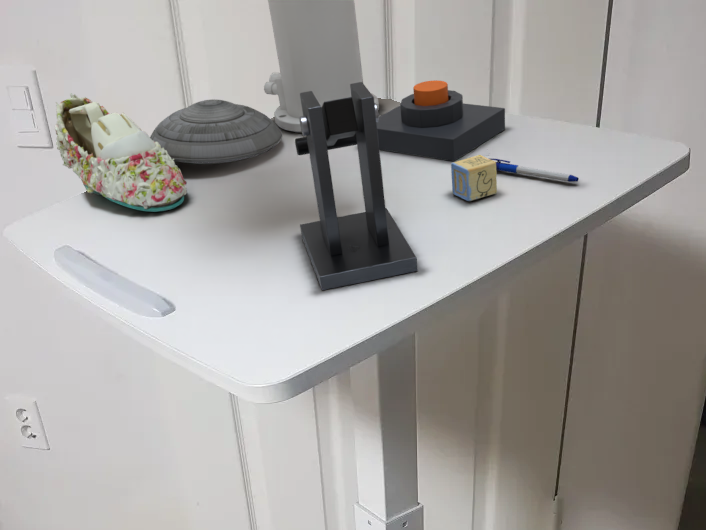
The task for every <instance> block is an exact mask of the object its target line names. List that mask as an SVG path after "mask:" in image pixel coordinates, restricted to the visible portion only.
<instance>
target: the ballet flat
mask: <svg viewBox="0 0 706 530" xmlns="http://www.w3.org/2000/svg"><path fill="white" fill-rule="evenodd" d="M69 96H70V97H69V98H67V99H64V100H62V101H61V102H60V103H58V102H57V101H55V104H56V120H57V121H56V123H55V125H54V131H55V135H56V141H55V145H56V149H57V150H58V151H59V153H60V157H61V160H62V161H63V163H62V166H64V167H66V168H67V169H72V172H73V173H74V174H76V176H77V177H78V179H80V181H81V183H82V185H83V186H84V188H85V190H86V193H88V194H93V195H94V194H95V195H101V196H102V197H104V198H105V199H106V200H109V201H110V202H113V203H115V204H117V205H120V206H123V207H125V208H129V209H133V210H137V211H141V212H152V213H153V212H154V213H156V212H165V211H168V210H173V209H175V208H178V207H179V206H180V205H182V204H183V203H184V201H185V196H186V195H187V194H188V192H187V186H186V185H187V181H186V180H185V179H184V176H183V174H182V171H181V168H179V167H178V165H176V161H173V160H174V159H171V157H170V156H169V155H168V153H167V150H164V148H161V145H160V144H159V143H158V142H157V141H156V142H154V141H153V140H152V139H151V138H150V135H149V134H148V132H146V131H144V130H143V129H141V127H140V126H139V125H137V123H135V121H133V120H132V119H131V118H130V117H129V116H128V115H127V114H125V113H124V112H121V113H118V112H112V113H110V112H108V110H107V109H106V107H105V106H103V105H100V103H99V102H98V101H93V100H92V99H90V98H88V97H86V96H84V97H79V96H78V95H76V94H75V93H71V92H70V93H69Z"/></svg>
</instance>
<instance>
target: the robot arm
mask: <svg viewBox="0 0 706 530" xmlns="http://www.w3.org/2000/svg"><path fill="white" fill-rule="evenodd" d="M267 3H268V9H269V13H270V14H269V15H270V20H271V21H270V22H271V26H272V32H273V38H274V44H275V51H276V54H277V63H278V66H279V72H276V71H274V72H272V73H271V74H270V75H269V79H268V81H266V82H265V83H264V85H263V91H264V93H265V94H266V95H272V96H277V97H278V102H279V106H278V107H276V109H275V110H274V114H273V117H274V121H275V124H276V125H277V126H278V128H280V129H282V130H285V131H289V132H295V133H302V131H301V127H300V120H299V117H300V116H303V111H302V105H301V99H300V93H303V92H308V91H312V92H313V94H314V95H315V97H316V99H317V100H318V102H319V104H320V106H321V108H322V105H323V103H324V102H326V101H331V100H336V99H342V98H347V97H351V89H350V84H353V83H358V82H362V83H363V84H364V76H363V68H362V57H361V49H360V41H359V30H358V23H357V14H356V3H355V0H267ZM370 93H371V94H372V95H373V97H374V103H376V105H377V108H378V111H379V109H380V103H379V98H378V97H377V96H376V95H375V94H374V93H372V92H370Z"/></svg>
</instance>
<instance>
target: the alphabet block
mask: <svg viewBox="0 0 706 530" xmlns="http://www.w3.org/2000/svg"><path fill="white" fill-rule="evenodd" d="M491 159H492V158H489V159H488V158H487V157H485V156H483V155H481V154H478V155H474V156H471V157H466V158H464V159H461V160H456V161H452V162H451V163H450V168H451V170H450V173H451V188H452V194H453V195H455V196H457V197H458V198H460V199H462V200H464V201H467V202H472V201H475V200H479V199H481V198H482V199H483V198H485V197H488V196H493V195H496V194H497V192H498V189H497V187H498V186H497V184H498V183H497V182H498V181H497V170H496V162H497V161H496V160H491Z"/></svg>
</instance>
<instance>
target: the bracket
mask: <svg viewBox="0 0 706 530" xmlns="http://www.w3.org/2000/svg"><path fill="white" fill-rule="evenodd" d="M350 89H351V97H352V99H353V105H354V110H355V116H356V121H357V127H358V131H357V132H356V139H357V145H356V147H357V154H358V161H359V163H358V164H359V170H360V171H359V172H360V179H361V187H362V195H363V196H362V197H363V204H364V205H363V206H364V211H361V212H357V213H353V214H347V215H346V214H345V215H342V216H338V213H337V205H336V199H335V191H334V186H333V179H332V170H331V165H330V158H329V150H327V143H326V136H325V129H324V122H323V115H322V108H321V106H320V104H319V102H318V100H317V99H316V97H315V95H314V94H313V92H312V91H308V92H303V93H300V99H301V105H302V111H303V116H300V117H299V120H300V127H301V131H302V132H301V134H302V137H306V136H307V143H308V149H309V154H308V155H309V160H310V166H311V167H310V168H311V173H312V180H313V186H314V192H315V198H316V199H315V200H316V205H317V212H318V218H319V220H316V221H311V222H305V223H301V224H299V228H300V233H301V238H302V241H303V244H304V246H305V249H306V251H307V254H308V257H309V260H310V262H311V265H312V267H313V270H314V273H315V275H316V276H315V277H316V278H317V281H318V284H319V287H320V289H321V291H326V290H330V289H331V290H332V289H335V288H340V287H341V288H342V287H346V286H351V285H355V284H356V285H357V284H360V283H364V282H365V283H366V282H370V281H375V280H379V279H385V278H390V277H394V276H399V275H405V274H409V273H415V272H418V258H417V256H416V254H415V252H414V251H413V249H412V248H411V246H410V245H409V243H408V241H407V239H406V238H405V236H404V235H403V232H402V231H401V230H400V228H399V226H398V225H397V223H396V221H395V219H394V218H393V215H391V213H390V211H389V209H388V208H387V207H386V201H385V200H386V199H385V191H384V190H385V189H384V181H383V173H382V162H381V152H380V151H381V150H379V142H378V132H377V122H378V121H379V116H380V114H379V110H378V108H377V105H376V103H374V97H373V95H372V94H373V93H372V92H371V91H370V90H369V88H367V86H366V85H365V84H364V82H363V83H362V82H358V83H353V84H350ZM371 93H372V94H371Z"/></svg>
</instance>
